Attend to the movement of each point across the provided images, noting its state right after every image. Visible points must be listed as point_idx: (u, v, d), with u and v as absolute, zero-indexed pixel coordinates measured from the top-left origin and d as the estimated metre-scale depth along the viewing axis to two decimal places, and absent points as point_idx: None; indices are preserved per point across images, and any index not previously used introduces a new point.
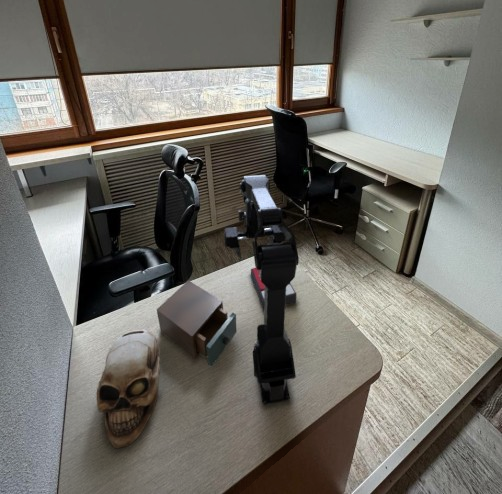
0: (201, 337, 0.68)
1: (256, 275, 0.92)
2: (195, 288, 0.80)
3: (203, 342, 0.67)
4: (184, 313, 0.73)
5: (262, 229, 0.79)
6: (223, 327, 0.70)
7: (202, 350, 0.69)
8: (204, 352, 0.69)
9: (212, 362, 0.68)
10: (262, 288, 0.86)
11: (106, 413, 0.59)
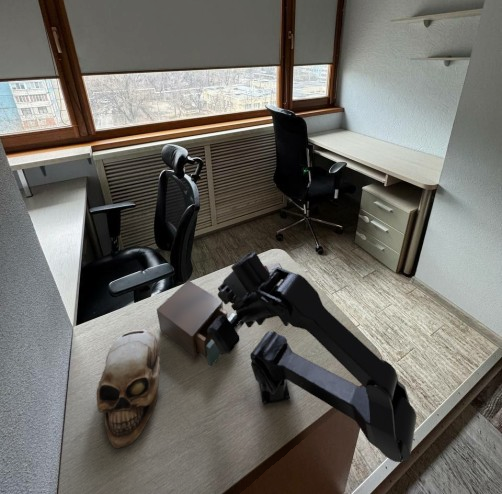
0: (201, 337, 0.68)
1: None
2: (195, 288, 0.80)
3: (203, 342, 0.67)
4: (184, 313, 0.73)
5: None
6: None
7: (202, 350, 0.69)
8: (204, 352, 0.69)
9: (212, 362, 0.68)
10: None
11: (106, 413, 0.59)
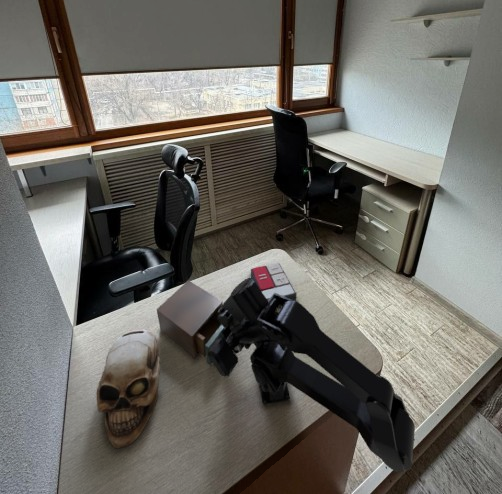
0: (200, 336, 0.68)
1: (256, 275, 0.92)
2: (195, 288, 0.80)
3: (202, 341, 0.68)
4: (184, 313, 0.73)
5: None
6: (222, 326, 0.70)
7: (201, 349, 0.69)
8: (203, 351, 0.69)
9: None
10: (262, 288, 0.86)
11: (106, 413, 0.59)
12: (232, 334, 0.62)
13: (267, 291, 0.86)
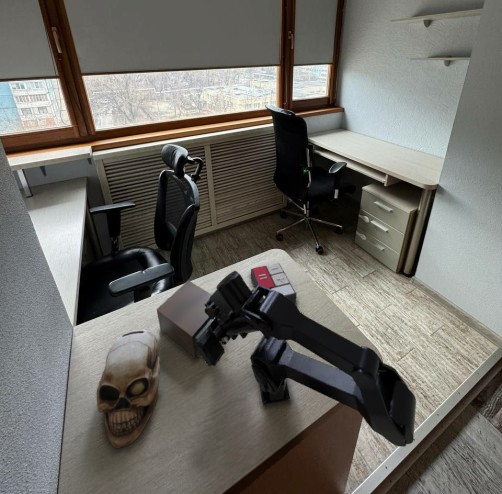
0: None
1: (256, 275, 0.92)
2: (195, 288, 0.80)
3: None
4: (184, 313, 0.73)
5: None
6: (211, 319, 0.72)
7: None
8: None
9: None
10: None
11: (106, 413, 0.59)
12: (219, 326, 0.64)
13: None
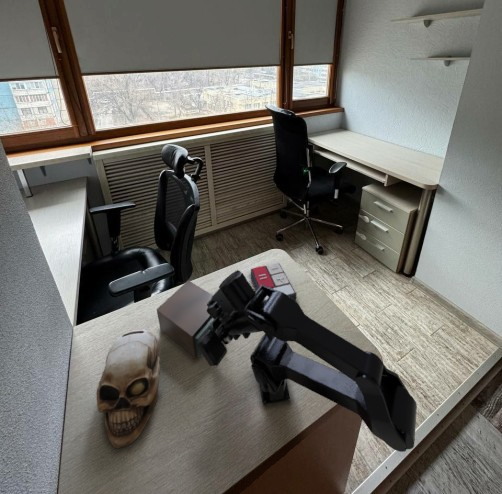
0: None
1: (256, 275, 0.92)
2: (195, 288, 0.80)
3: None
4: (184, 313, 0.73)
5: None
6: (211, 319, 0.72)
7: None
8: None
9: (200, 353, 0.70)
10: None
11: (106, 413, 0.59)
12: (221, 326, 0.64)
13: None
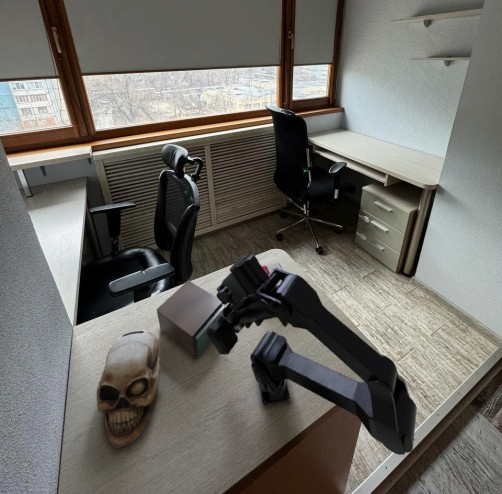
0: None
1: None
2: (195, 288, 0.80)
3: None
4: (184, 313, 0.73)
5: None
6: (211, 319, 0.72)
7: None
8: None
9: (200, 353, 0.70)
10: None
11: (106, 413, 0.59)
12: (232, 313, 0.60)
13: None
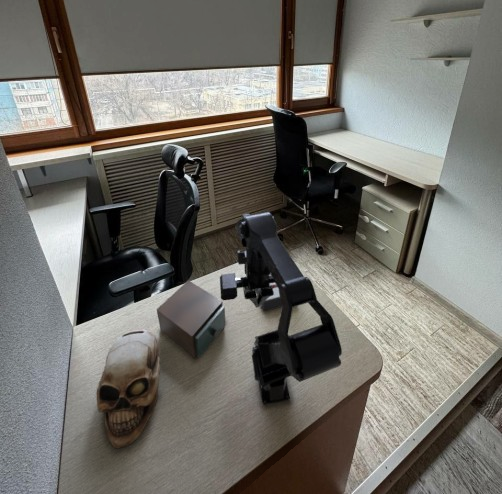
0: None
1: None
2: (195, 288, 0.80)
3: None
4: (184, 313, 0.73)
5: (267, 278, 0.64)
6: (211, 319, 0.72)
7: None
8: None
9: (200, 353, 0.70)
10: None
11: (106, 413, 0.59)
12: (246, 277, 0.68)
13: None
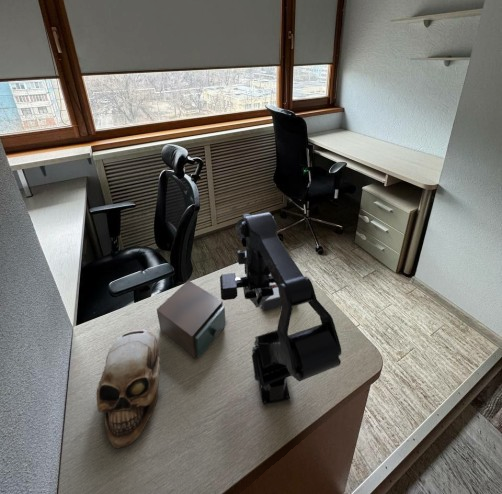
0: None
1: None
2: (195, 288, 0.80)
3: None
4: (184, 313, 0.73)
5: (267, 278, 0.64)
6: (211, 319, 0.72)
7: None
8: None
9: (200, 353, 0.70)
10: None
11: (106, 413, 0.59)
12: (246, 277, 0.68)
13: None
